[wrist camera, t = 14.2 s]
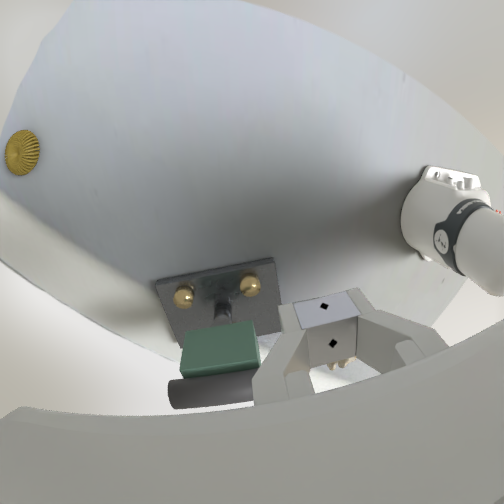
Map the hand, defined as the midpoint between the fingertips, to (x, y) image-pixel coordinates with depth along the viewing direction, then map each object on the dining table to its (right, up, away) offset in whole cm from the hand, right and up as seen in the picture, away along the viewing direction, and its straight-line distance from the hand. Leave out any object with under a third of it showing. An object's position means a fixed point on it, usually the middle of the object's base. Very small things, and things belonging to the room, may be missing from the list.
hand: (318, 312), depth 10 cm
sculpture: (-42, +20, +27) cm, 54 cm away
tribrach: (-8, -7, +41) cm, 42 cm away
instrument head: (-7, -10, +34) cm, 36 cm away
